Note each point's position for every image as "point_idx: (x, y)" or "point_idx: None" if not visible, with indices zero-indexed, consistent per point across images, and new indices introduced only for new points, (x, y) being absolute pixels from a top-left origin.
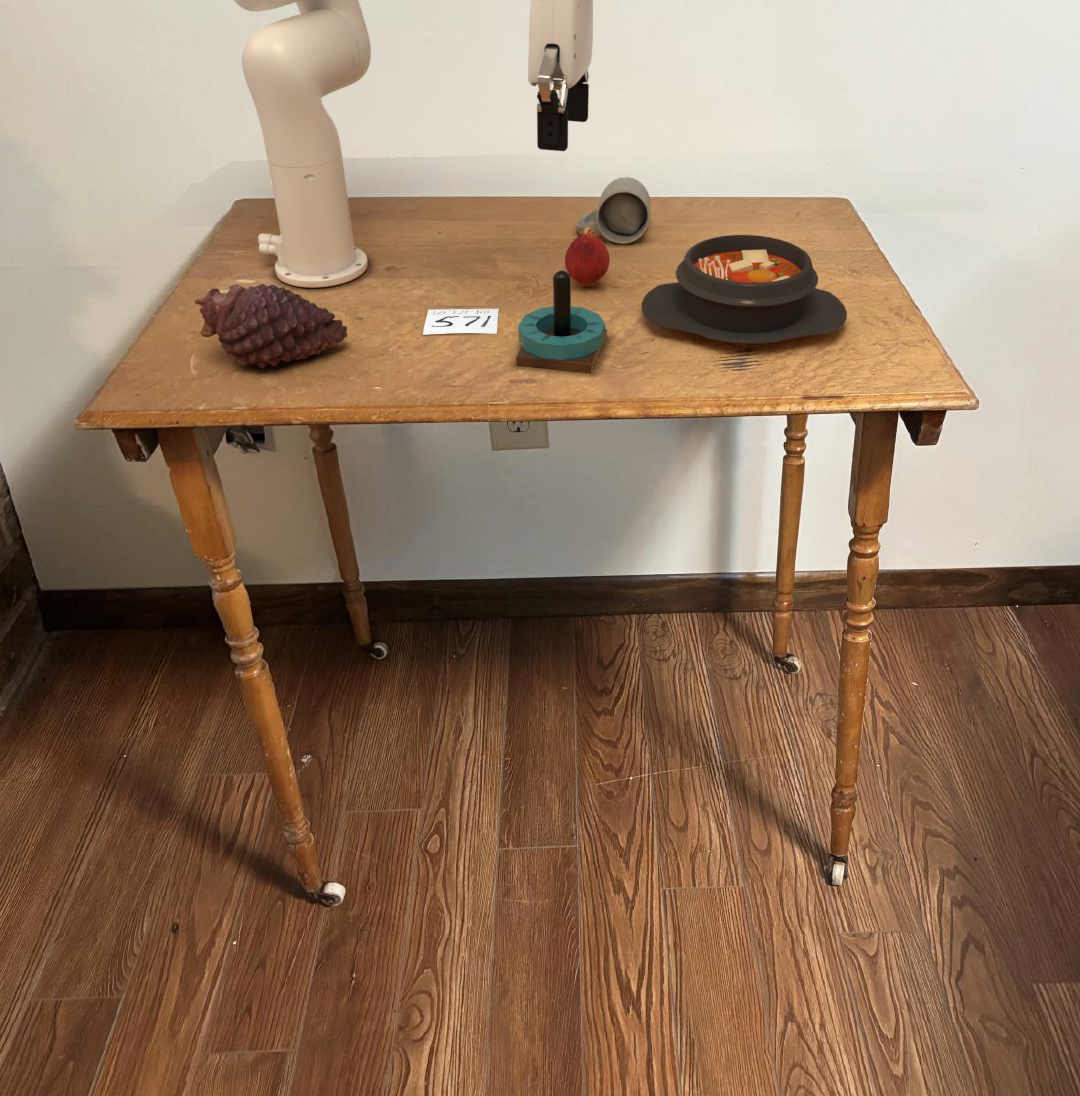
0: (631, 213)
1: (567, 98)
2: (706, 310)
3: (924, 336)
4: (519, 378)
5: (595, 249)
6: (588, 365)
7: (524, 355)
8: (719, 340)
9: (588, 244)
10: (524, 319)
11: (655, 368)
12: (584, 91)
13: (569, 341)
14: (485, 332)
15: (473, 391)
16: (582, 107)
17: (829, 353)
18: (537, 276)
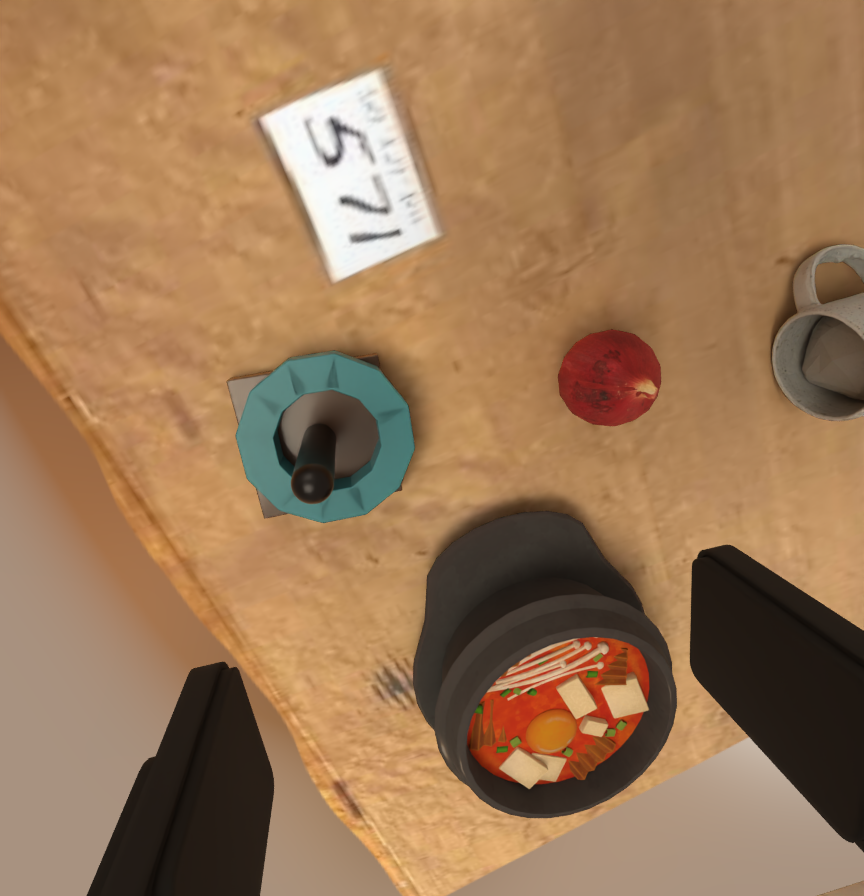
0: (839, 378)
1: (788, 672)
2: (450, 663)
3: (556, 836)
4: (188, 404)
5: (605, 412)
6: (263, 513)
7: (237, 394)
8: (413, 672)
9: (609, 398)
10: (317, 362)
11: (331, 592)
12: (827, 809)
13: (266, 485)
14: (330, 256)
15: (94, 343)
16: (743, 713)
17: None
18: (602, 253)
